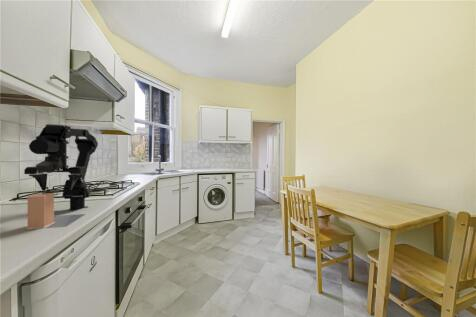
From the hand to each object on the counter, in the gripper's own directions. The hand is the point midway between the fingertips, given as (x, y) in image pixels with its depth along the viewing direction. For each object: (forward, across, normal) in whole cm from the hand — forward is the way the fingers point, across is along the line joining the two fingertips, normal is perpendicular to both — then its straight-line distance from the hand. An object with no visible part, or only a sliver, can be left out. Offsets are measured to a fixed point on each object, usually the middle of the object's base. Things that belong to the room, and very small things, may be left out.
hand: (57, 190), depth 77 cm
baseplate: (+13, +2, -3) cm, 14 cm away
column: (+12, -1, -7) cm, 14 cm away
